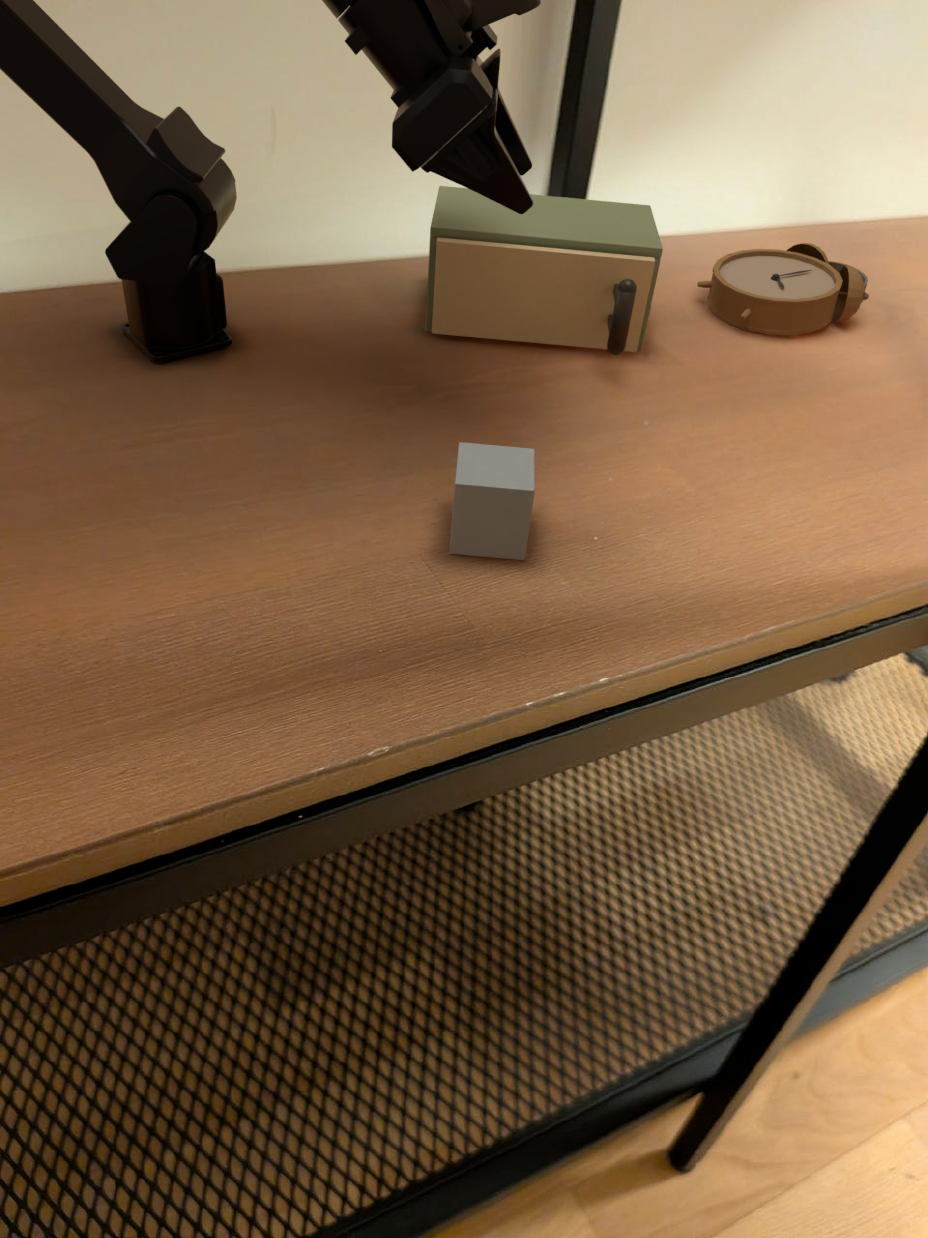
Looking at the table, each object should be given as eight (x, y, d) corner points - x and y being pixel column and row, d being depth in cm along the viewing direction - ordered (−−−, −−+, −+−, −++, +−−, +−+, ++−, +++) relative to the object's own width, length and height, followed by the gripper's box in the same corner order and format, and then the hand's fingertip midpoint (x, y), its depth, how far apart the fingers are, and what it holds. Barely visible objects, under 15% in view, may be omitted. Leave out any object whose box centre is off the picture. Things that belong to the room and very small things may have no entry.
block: (524, 560, 57) (534, 490, 53) (449, 554, 57) (454, 483, 53) (524, 516, 60) (534, 448, 57) (453, 510, 60) (459, 441, 57)
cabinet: (425, 331, 79) (430, 226, 73) (433, 283, 86) (439, 185, 81) (641, 351, 79) (663, 248, 74) (631, 301, 87) (650, 204, 81)
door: (427, 361, 74) (431, 264, 69) (432, 329, 78) (437, 236, 73) (642, 380, 74) (662, 286, 69) (635, 347, 79) (654, 256, 74)
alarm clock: (686, 259, 87) (826, 220, 90) (682, 310, 91) (817, 271, 94) (756, 311, 80) (907, 266, 83) (749, 363, 83) (894, 319, 86)
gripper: (463, -110, 48) (638, 147, 55) (476, -135, 62) (614, 73, 69) (311, 53, 53) (490, 269, 61) (355, -4, 67) (495, 177, 75)
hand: (527, 189), depth 66 cm, fingers open, 8 cm apart
